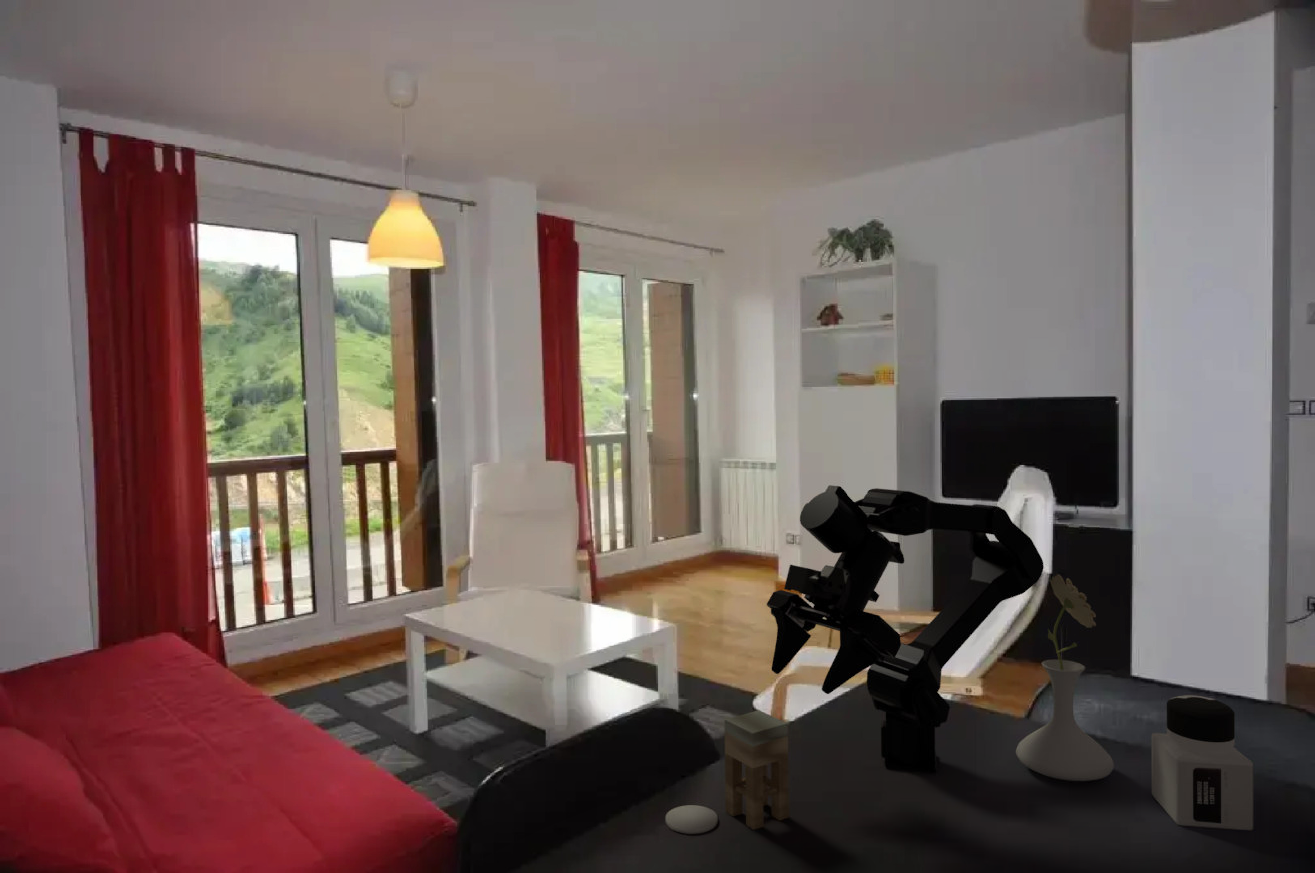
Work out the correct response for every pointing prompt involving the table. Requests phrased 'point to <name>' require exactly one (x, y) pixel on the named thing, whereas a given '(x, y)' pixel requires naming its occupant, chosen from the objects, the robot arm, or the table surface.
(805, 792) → the table surface
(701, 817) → the mat
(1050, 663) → the flower in vase
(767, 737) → the stool
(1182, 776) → the container
